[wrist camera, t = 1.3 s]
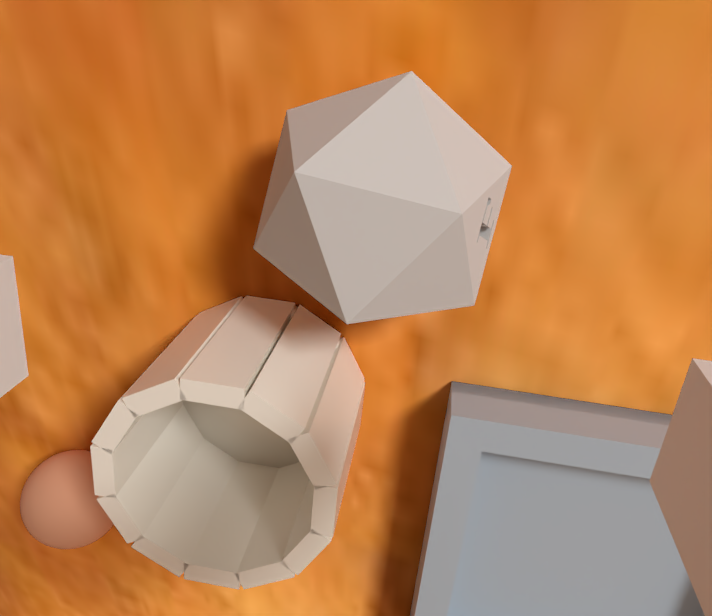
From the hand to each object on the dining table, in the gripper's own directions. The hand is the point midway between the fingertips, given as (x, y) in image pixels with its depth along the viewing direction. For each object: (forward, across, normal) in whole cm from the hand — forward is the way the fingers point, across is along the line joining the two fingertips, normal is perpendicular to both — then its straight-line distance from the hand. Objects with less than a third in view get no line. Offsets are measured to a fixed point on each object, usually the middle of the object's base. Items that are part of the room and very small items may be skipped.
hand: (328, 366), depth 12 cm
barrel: (+16, -6, -11) cm, 20 cm away
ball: (+16, -15, -18) cm, 28 cm away
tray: (+16, +12, -17) cm, 26 cm away
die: (+16, 0, 0) cm, 17 cm away
